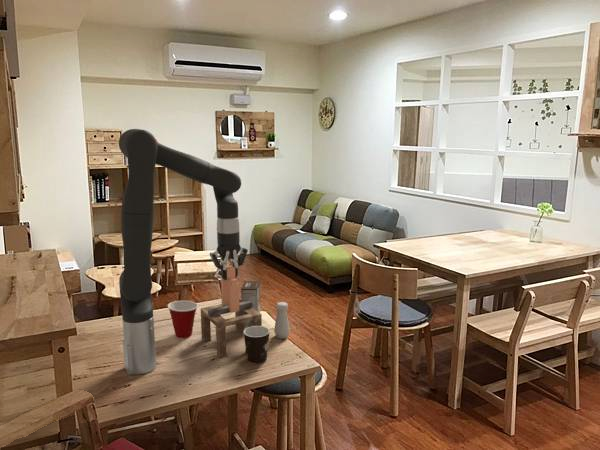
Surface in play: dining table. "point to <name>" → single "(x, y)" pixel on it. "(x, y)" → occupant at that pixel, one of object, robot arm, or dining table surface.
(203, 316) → the square wooden frame
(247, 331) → the coffee mug
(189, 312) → the plastic cup
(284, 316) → the salt shaker
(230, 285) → the stepped pink block
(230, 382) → the dining table surface
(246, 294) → the coffee box
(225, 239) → the robot arm
